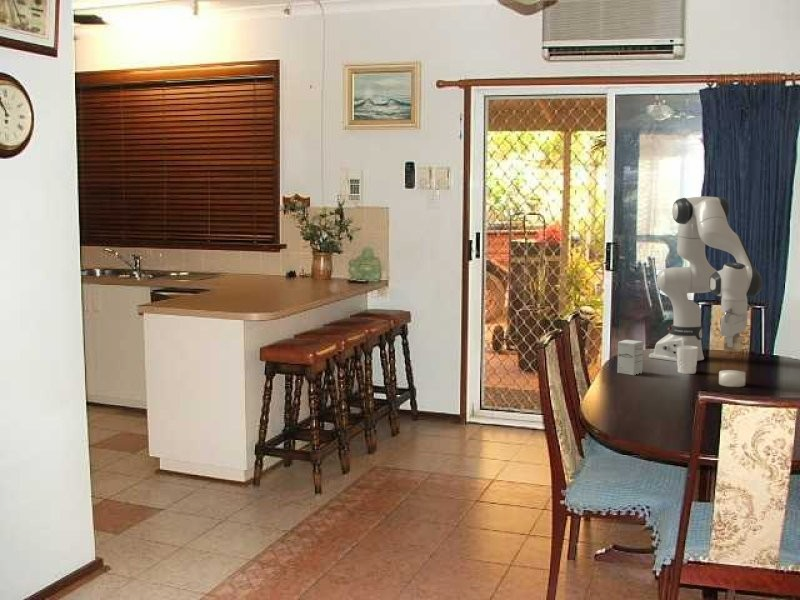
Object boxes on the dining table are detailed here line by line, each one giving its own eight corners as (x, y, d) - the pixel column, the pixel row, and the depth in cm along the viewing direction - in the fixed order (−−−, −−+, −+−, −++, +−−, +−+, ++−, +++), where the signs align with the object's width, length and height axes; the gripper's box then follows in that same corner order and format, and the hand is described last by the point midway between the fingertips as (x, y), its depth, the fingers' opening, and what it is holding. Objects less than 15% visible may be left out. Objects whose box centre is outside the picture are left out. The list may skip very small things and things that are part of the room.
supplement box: (616, 373, 344) (617, 341, 343) (626, 370, 349) (626, 339, 348) (633, 375, 339) (634, 343, 338) (643, 372, 344) (643, 341, 343)
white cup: (698, 371, 346) (699, 346, 345) (696, 374, 339) (696, 349, 338) (677, 369, 349) (678, 345, 348) (674, 373, 342) (675, 348, 341)
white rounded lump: (715, 385, 320) (715, 373, 320) (723, 381, 327) (723, 369, 327) (741, 388, 315) (741, 375, 314) (748, 383, 322) (748, 371, 321)
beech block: (723, 350, 319) (724, 336, 318) (727, 348, 323) (728, 334, 322) (738, 351, 316) (738, 337, 315) (742, 349, 320) (742, 335, 319)
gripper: (734, 311, 308) (733, 350, 309) (750, 305, 324) (749, 342, 325) (716, 310, 311) (715, 348, 313) (733, 304, 328) (732, 341, 329)
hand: (733, 345), depth 319 cm, fingers closed on beech block, 5 cm apart
